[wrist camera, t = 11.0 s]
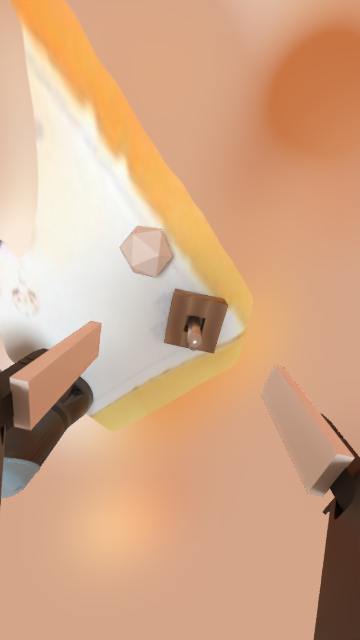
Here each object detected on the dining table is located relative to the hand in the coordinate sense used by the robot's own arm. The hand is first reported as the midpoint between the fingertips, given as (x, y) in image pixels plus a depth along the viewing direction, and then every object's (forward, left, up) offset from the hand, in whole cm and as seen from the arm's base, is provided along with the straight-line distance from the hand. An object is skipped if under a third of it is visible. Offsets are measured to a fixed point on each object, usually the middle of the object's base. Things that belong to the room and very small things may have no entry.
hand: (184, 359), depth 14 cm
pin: (+2, -6, -28) cm, 29 cm away
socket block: (+2, -6, -29) cm, 30 cm away
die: (-10, +6, -30) cm, 32 cm away
